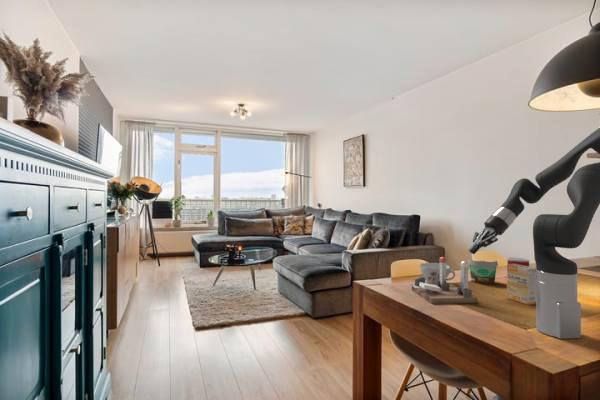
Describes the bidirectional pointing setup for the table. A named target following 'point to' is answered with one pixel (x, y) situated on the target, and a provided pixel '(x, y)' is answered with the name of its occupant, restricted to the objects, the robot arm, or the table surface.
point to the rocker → (430, 287)
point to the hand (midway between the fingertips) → (471, 252)
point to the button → (419, 280)
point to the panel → (445, 294)
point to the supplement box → (521, 283)
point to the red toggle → (442, 270)
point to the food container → (483, 271)
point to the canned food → (518, 261)
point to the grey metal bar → (464, 276)
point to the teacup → (434, 272)
